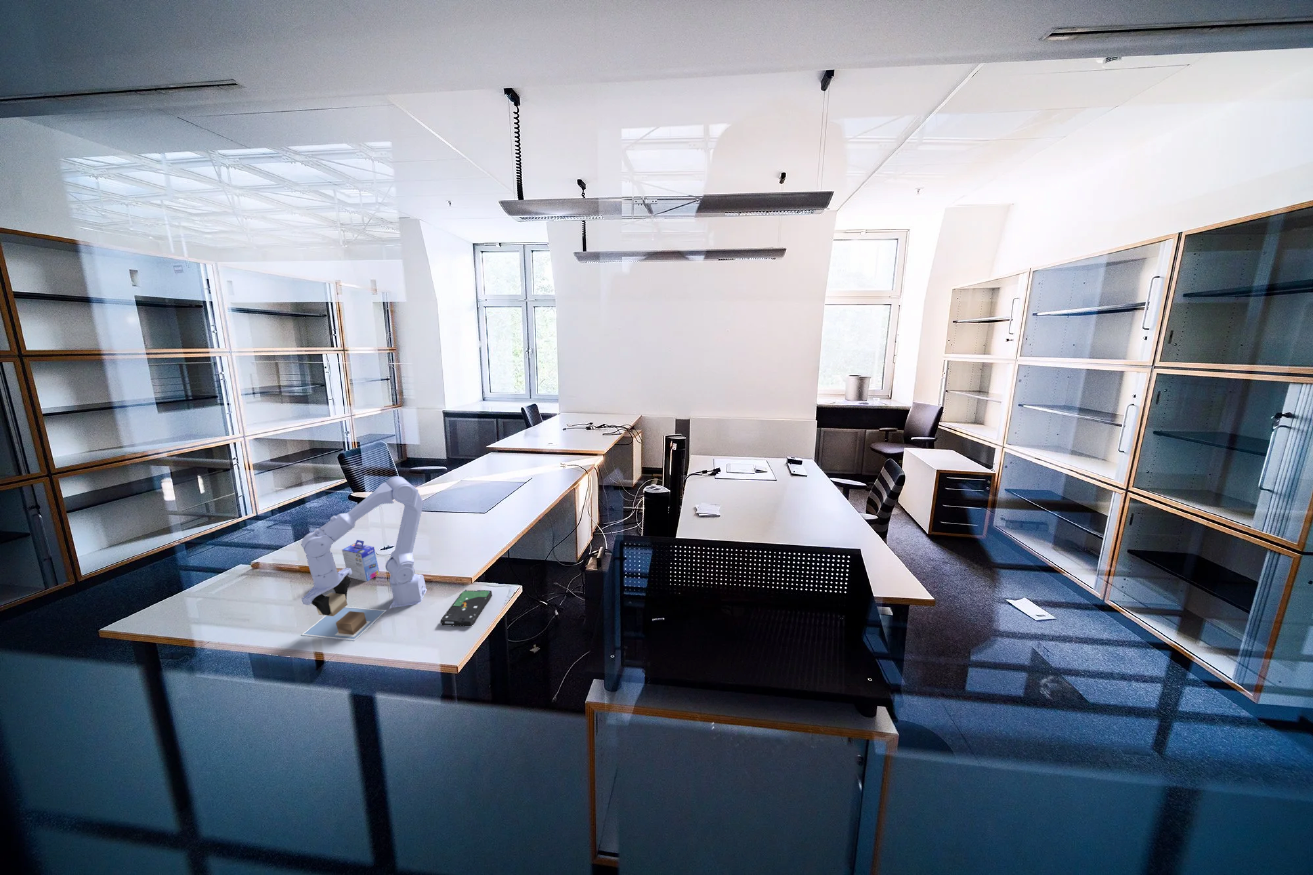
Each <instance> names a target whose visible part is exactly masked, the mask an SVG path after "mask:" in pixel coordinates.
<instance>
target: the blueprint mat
mask: <svg viewBox="0 0 1313 875" xmlns="http://www.w3.org/2000/svg"><path fill="white" fill-rule="evenodd" d="M349 611H353V612H364V614H365V618H366V622H367V623H366V624H365V625H364V626H363V627H362V628H360V629H359V630H358V631H357V632H356V633H355V634H354V635H351V634H340V633H339V632H338V629H337V625H336V622H337V621H339V620H340V619H341V618H342V617H343V616H345V615H346V614H347V613H348V612H349ZM387 611H388V610H387V609H379V608H378V609H377V608H368V607H367V608H366V607H358V606H357V607H355V606H345V607H344V608H343V609H342V610H341V611H339V612H338V613H337V614H336V615H334V616H325V615H323V617H322V618H320V619H319V620H318V621H317V622H315V623H314V624H313V625H311V626H310V627H309V628H308V629H307V630H305V631H304V632H303V633H301V635H300V636H302V637H313V638H321V639H332V640H343V641H351V642H355V641H356V640H357V639H358V638H359V637H361V635H362V634H363V633H364V632H365V631H366V630H368V629H369V628H370V627H371V626H372V625H373V624H374V623H375V622H377V620H378V619H380V617H382V616H383V615H384V614H385V613H386V612H387Z"/></svg>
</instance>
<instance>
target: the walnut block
mask: <svg viewBox="0 0 1313 875" xmlns="http://www.w3.org/2000/svg"><path fill="white" fill-rule="evenodd" d="M366 623H367V622H366V618H365V614H364V612H353V611H349V612H348V613H347V614H346V615H345V616H343V617H342V618H341V619H340V620H339V621H337V622H336V625H337V629H338V632H339V633H340V634H351V635H354V634H355V633H356V632H357V631H358V630H359V629H360V628H362V627H363V626H364V625H365V624H366Z"/></svg>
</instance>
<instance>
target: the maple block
mask: <svg viewBox="0 0 1313 875" xmlns="http://www.w3.org/2000/svg"><path fill="white" fill-rule="evenodd" d="M326 596H329V607H330V612H331V613H330V615H323V614H322V613H321V612H320V610H319V609H318V608H317V607H316V606H315V607H316V608H315V609H316V611H317V614H318V616H334V615H336V614H337V613H338V612H339V611H341V610H342V609H343V608H344V607H345V606H346V607H348V602H347V600H346V597H345V594H337V593H335V592H329V593H328V594H326Z"/></svg>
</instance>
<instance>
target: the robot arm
mask: <svg viewBox="0 0 1313 875" xmlns="http://www.w3.org/2000/svg"><path fill="white" fill-rule="evenodd" d="M393 500H394V501H396V502H398V503H400V504H402V505H403V506H404V507H403V512H402V517H401V520H400V525H399V529H398V534H397V538H396V543H395V547H394V550H393V551H392V552H391V553H390V557H389V558H388V559H387V561H386V563H385V570H386V571H387V572H388V573H389V574H390V576H389V580H388V581H389V584H390V589H391V594H392V598H393V600H392V601H391V602H392V603H391V604H390V606H389V609H393V608H399V607H400V608H401V607H405V606H413V605H421V603H422V601H423V599H424V596H425V595H426V593H427V590H428V589H427V585H426V582H425V577H424V574H418V573H415V568H414V567H415V566H414V564H415V560H414V554H413V552H414V546H415V542H416V537H417V532H418V528H419V524H420V520H421V517H422V516H421V515H422V511H423V508H424V501H423V499H422V497H421V495H420V492H419V489H418V488H416V487H415V486H414V485H412V484H411V483H410V482H409V481H408V480H406V479H405V477H402V476H401V475H400V476H399V475H398V476H397V475H395V476H392V477H389V478H388V479H387V480H386V482H385V481H384V482H382V483H380V485H379V486H377V488H376V489H375V490H374V491H373V492H372V493H370V494H368V496H367V497H366V498H364V499H363V500H362V501H360V502H359V503H358V504H357V505H355V506H354V507H353V508H352V509H350V510H349V511H348V512H345V513H338V514H337V515H333V516H331V517H330V520H329V521H328V522H326V523H325V524H324V525H322V526H321V527H319V528H315V529H314V531H313V532H309V533H307V534H306V535H304V537H303V538H302V540H301V543H300V546H301V547H302V549H303V551H304V553H305V554H306V555H305V558H306V560H307V562H306V563H307V565H308V568H309V572H310V575H311V577H312V581H313V587H312V588H310V590H309V591H308V592H307V593H306V594H305V595H304V596H303V597H302V598H301V602H302V605H307V606H309V605H313V606H314V607H317V608H318V609H319V610H320V612H321V613H322V614H323V615H322V616H325V615H330V613H331V612H330V607H329V596H327V595H325V594H324V593H326V592H328V591H330V590H332V589H333V590H334V593H337V594H345V597H346V601H347V600H348V599H347V597H348V590H349V587H350V584H351V578H350V577H348V575H350V574H352V571H351V568H346V567H344V568H343V569H340V570H339V571H338V570H337V566H336V562H335V559H334V555H333V553H332V552H331V548H332V545H334V544H335V543H336V542H337V541H338V540H340V539H341V538H342V537H344V536H345V535H346V534H347V533H348V532H350V531H351V530H352V529H354V528H355V526H356V522H357V521H358V520H360V519H362V518H363V517H365V515H367V514H368V513H370V512H372V510H374V509H375V508H378V507H379V506H380V505H382V504H383V505H386V504H387V505H388V504H389V505H390V504H394V501H393ZM317 608H316V609H317Z"/></svg>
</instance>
